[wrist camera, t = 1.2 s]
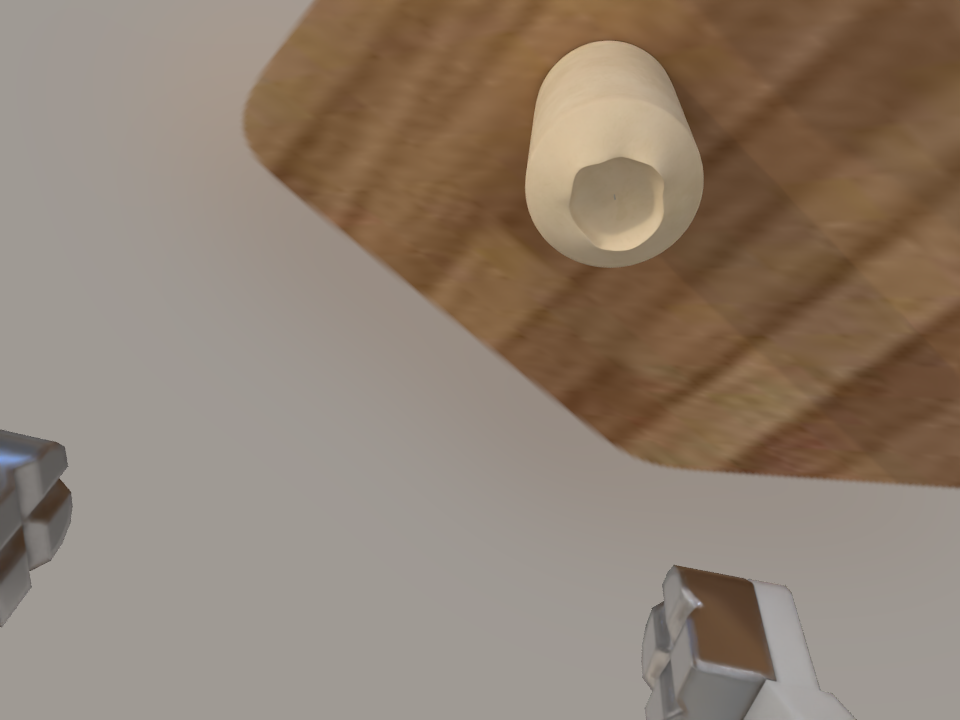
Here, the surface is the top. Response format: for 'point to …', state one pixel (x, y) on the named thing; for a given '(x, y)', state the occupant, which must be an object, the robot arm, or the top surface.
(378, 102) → the top surface
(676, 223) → the candle
